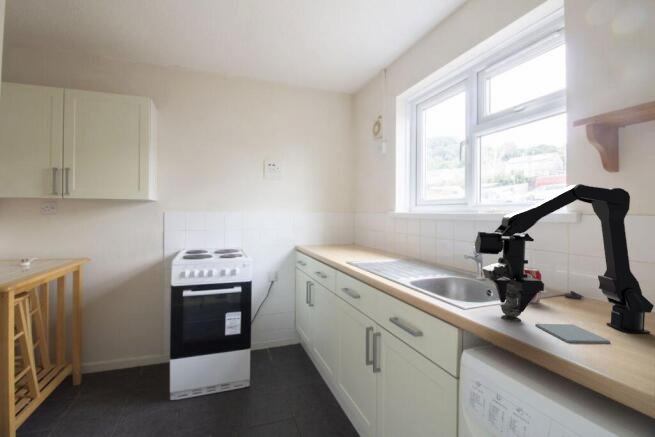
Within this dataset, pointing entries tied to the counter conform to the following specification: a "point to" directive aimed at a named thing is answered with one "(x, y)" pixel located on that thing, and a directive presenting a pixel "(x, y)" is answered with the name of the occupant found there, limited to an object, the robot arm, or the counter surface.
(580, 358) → the counter surface
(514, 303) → the grey stone finial
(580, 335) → the coaster
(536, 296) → the soda can
